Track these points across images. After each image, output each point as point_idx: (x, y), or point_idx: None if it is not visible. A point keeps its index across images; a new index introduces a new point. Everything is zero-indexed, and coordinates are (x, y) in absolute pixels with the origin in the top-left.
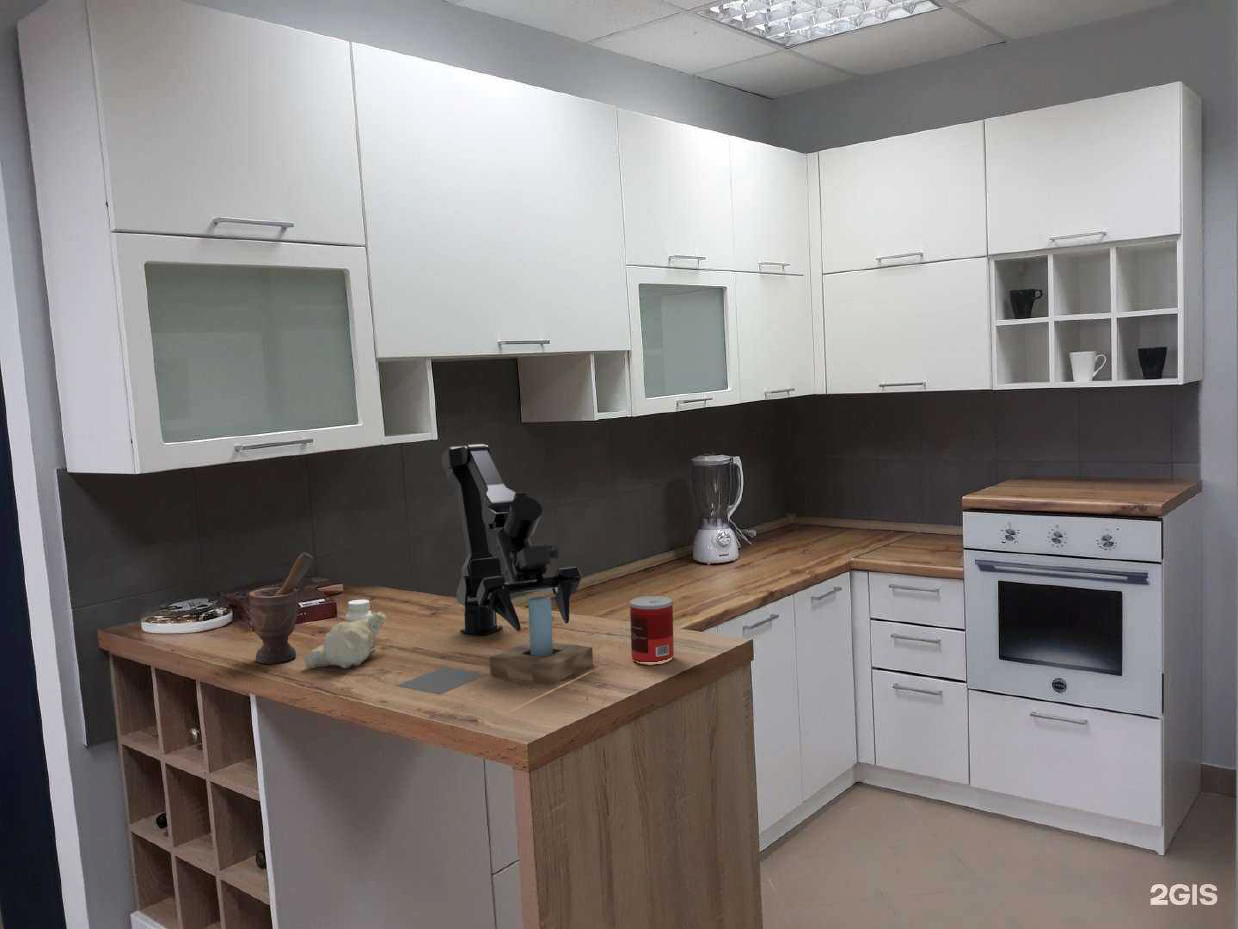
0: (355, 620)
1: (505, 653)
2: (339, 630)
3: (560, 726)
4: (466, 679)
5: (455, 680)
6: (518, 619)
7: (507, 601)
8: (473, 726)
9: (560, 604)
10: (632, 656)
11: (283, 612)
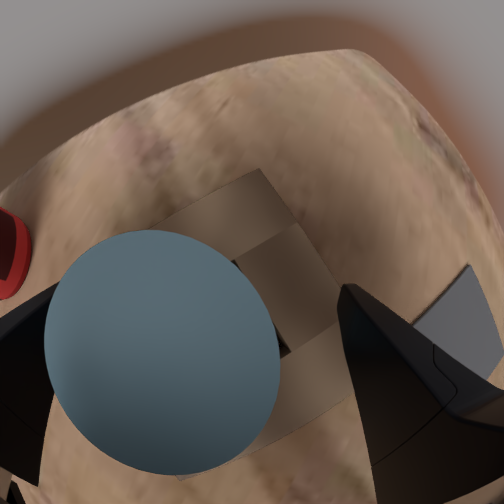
0: None
1: (333, 382)
2: None
3: (312, 53)
4: None
5: (439, 342)
6: (362, 306)
7: (471, 394)
8: (421, 111)
9: (25, 389)
10: (23, 264)
11: None
